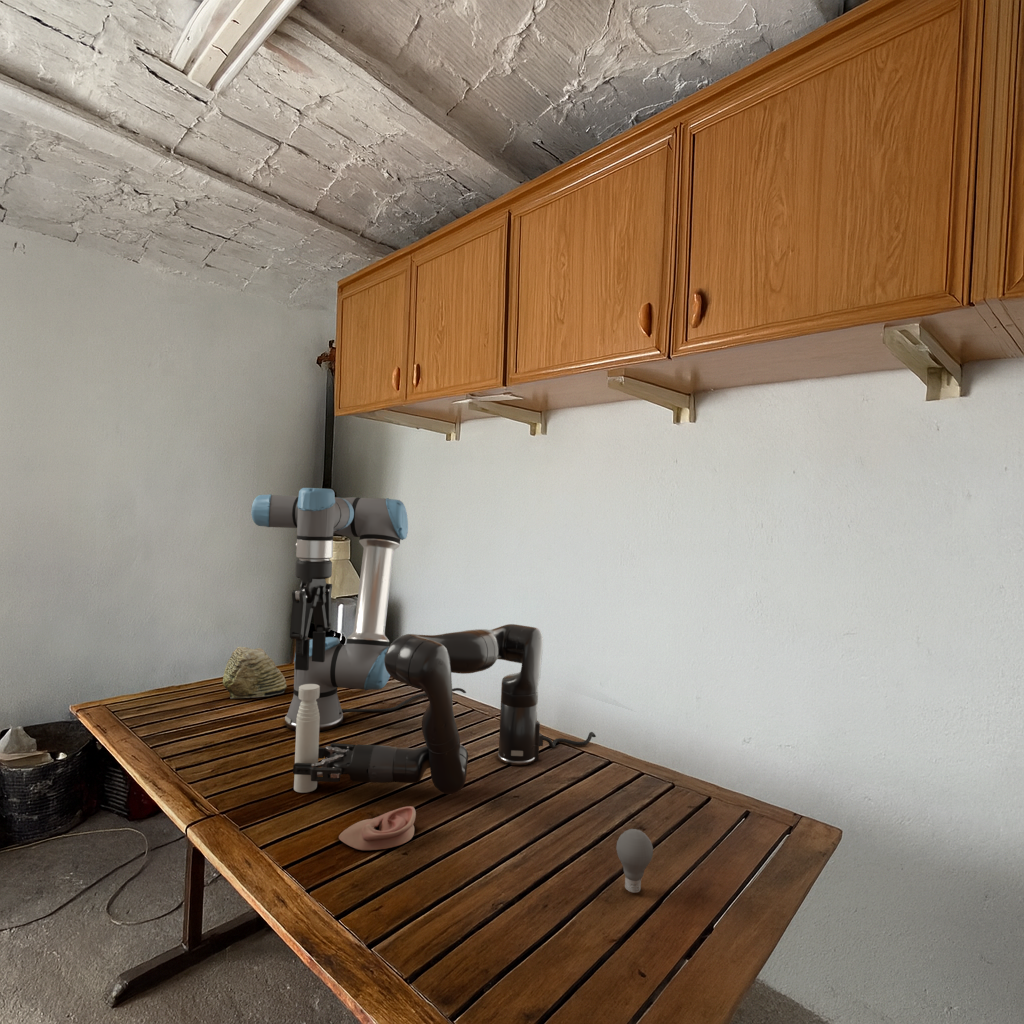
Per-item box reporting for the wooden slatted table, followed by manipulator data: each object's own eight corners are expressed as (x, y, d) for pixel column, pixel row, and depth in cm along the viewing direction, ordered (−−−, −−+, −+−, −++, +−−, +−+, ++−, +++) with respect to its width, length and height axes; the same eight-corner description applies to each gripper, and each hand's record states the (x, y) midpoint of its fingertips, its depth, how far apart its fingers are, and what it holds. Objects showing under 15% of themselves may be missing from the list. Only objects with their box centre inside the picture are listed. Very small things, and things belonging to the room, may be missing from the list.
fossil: (218, 695, 195) (220, 647, 195) (278, 685, 208) (279, 640, 207) (228, 703, 189) (230, 653, 188) (289, 692, 201) (290, 645, 201)
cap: (308, 693, 140) (308, 682, 140) (323, 696, 138) (324, 685, 138) (294, 698, 136) (294, 687, 136) (309, 701, 134) (310, 690, 134)
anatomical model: (331, 824, 115) (359, 795, 126) (330, 845, 115) (358, 815, 126) (400, 835, 112) (422, 805, 124) (399, 857, 112) (421, 825, 124)
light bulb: (610, 879, 108) (613, 822, 108) (644, 879, 109) (647, 822, 109) (619, 902, 102) (622, 840, 102) (655, 901, 103) (658, 840, 103)
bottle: (304, 780, 141) (308, 683, 140) (321, 785, 139) (325, 687, 138) (288, 789, 136) (292, 689, 136) (306, 794, 134) (310, 693, 134)
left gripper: (319, 554, 147) (315, 653, 147) (273, 562, 128) (269, 675, 128) (349, 556, 146) (346, 656, 146) (308, 564, 126) (303, 679, 127)
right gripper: (382, 734, 144) (312, 730, 144) (367, 760, 130) (289, 756, 130) (381, 767, 144) (310, 763, 145) (366, 796, 130) (288, 792, 130)
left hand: (310, 665), depth 137 cm, fingers open, 6 cm apart
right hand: (300, 760), depth 137 cm, fingers open, 8 cm apart
